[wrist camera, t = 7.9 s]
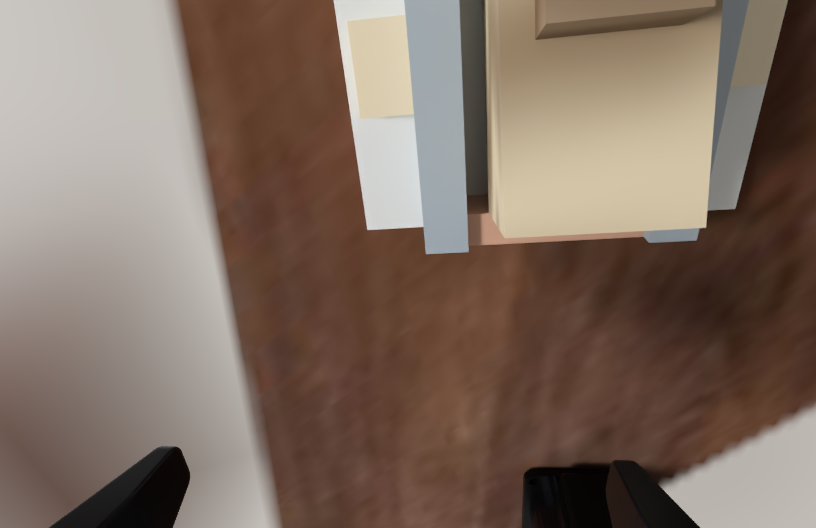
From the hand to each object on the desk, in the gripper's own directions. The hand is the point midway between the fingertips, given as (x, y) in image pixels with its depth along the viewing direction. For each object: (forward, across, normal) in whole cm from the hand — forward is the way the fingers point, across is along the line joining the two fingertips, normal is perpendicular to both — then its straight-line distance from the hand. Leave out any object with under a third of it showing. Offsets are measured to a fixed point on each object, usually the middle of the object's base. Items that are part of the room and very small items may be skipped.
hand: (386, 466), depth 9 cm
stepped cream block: (+10, -5, -6) cm, 12 cm away
